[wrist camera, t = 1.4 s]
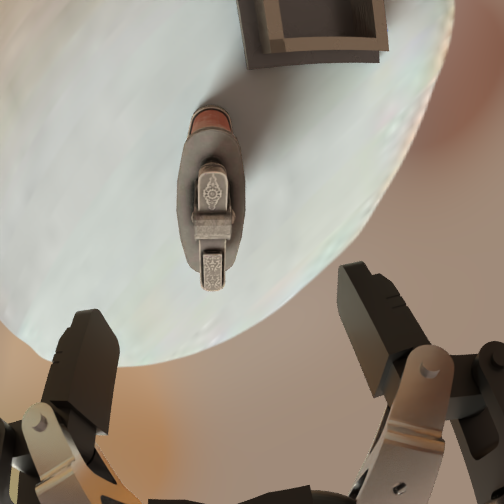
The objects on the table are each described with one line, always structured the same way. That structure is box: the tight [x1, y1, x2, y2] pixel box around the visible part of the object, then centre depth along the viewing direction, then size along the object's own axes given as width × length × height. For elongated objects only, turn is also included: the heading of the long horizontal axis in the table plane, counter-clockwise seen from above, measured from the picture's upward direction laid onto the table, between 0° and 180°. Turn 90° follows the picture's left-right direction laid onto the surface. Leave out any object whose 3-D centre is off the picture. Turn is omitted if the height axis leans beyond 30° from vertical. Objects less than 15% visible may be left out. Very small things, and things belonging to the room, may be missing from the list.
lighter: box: [176, 105, 245, 291], centre depth 17 cm, size 8×3×10 cm, turn 176°
